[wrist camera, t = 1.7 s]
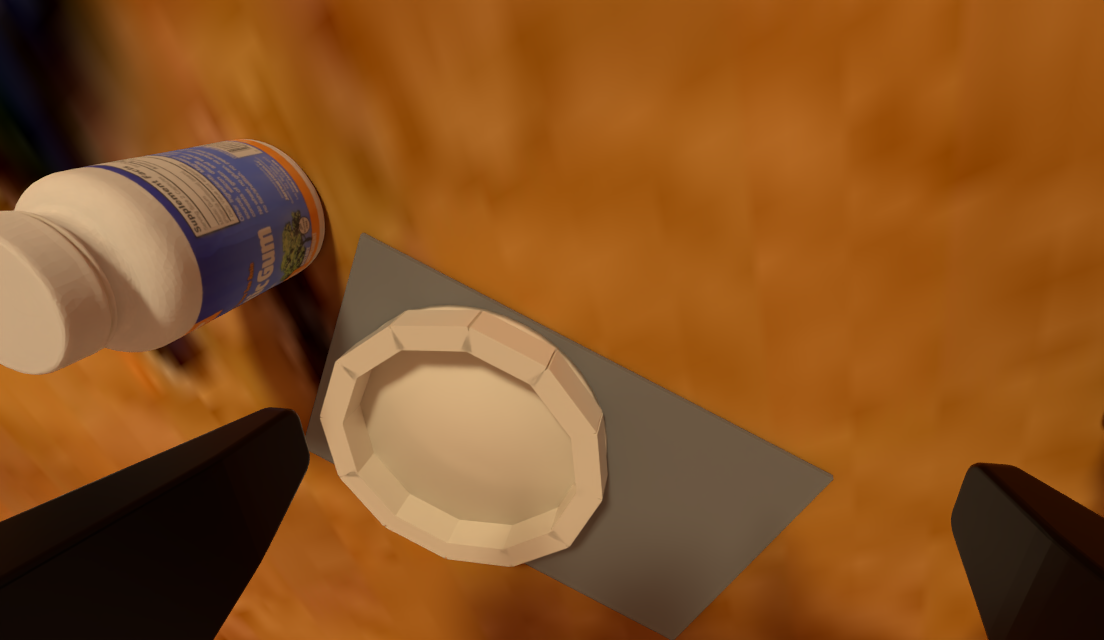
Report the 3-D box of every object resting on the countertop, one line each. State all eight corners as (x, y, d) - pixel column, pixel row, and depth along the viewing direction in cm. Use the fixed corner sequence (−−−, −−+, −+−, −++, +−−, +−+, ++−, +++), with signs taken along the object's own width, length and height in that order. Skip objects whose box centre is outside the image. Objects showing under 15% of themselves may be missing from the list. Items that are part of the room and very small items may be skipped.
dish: (659, 393, 21) (656, 423, 20) (540, 568, 27) (530, 603, 25) (387, 253, 22) (361, 270, 20) (325, 456, 27) (300, 483, 25)
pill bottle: (293, 297, 24) (66, 439, 15) (187, 210, 23) (-113, 306, 15) (354, 204, 21) (120, 311, 13) (236, 103, 21) (-93, 144, 12)
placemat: (832, 475, 21) (833, 479, 21) (673, 636, 27) (673, 641, 27) (363, 232, 22) (361, 234, 21) (304, 444, 27) (302, 447, 27)
